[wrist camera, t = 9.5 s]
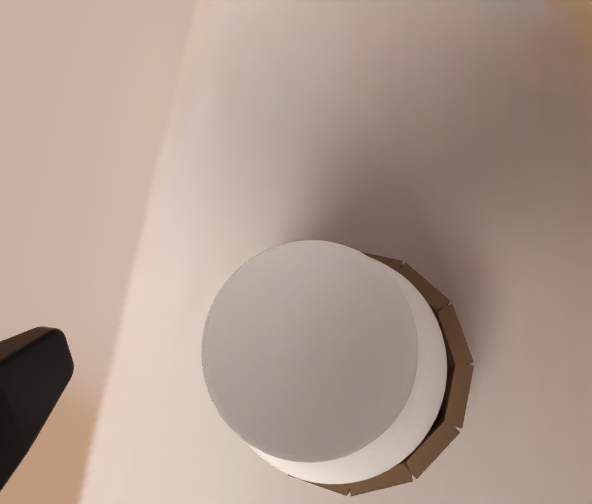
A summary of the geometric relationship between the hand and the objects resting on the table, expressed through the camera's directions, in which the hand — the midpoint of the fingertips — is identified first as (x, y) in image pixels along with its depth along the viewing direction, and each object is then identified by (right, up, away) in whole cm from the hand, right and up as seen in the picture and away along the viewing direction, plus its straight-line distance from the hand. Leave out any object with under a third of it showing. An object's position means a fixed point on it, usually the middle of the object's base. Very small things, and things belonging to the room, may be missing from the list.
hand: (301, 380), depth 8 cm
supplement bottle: (+2, -2, +10) cm, 10 cm away
